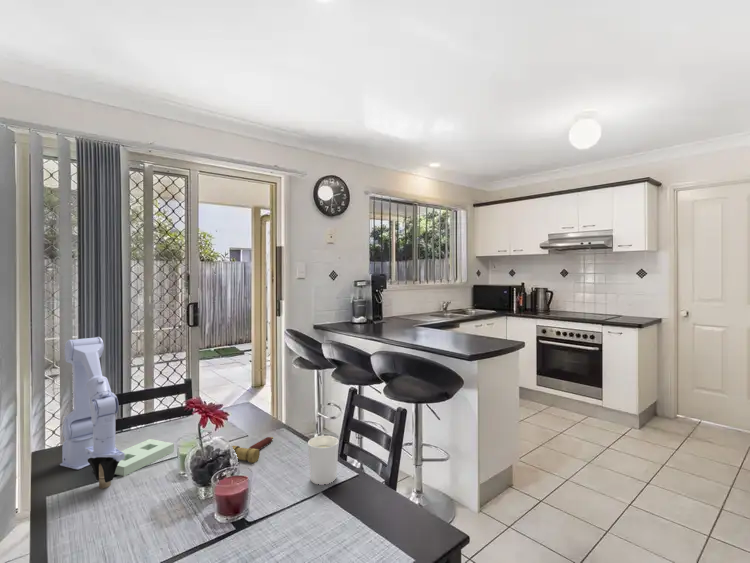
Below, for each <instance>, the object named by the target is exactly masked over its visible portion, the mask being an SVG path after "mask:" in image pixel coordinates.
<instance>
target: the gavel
mask: <svg viewBox="0 0 750 563" xmlns="http://www.w3.org/2000/svg"><path fill="white" fill-rule="evenodd" d="M272 439H273V440H274V437H273V436H267V437H264V438H263V439H262V440H260V441H258V442H256V443H254V444H252V445H250V446H249V448H245V447H241V446H239V445H232V446H231V447H233V449H234V450H235V452H236V454H237V457H238V459H239V460H238V459H237V460H238V461H244V462H248V463H252V464H255V463H256V462H258V461H259V459H260V455H261V453H260V450H261V449H263V448H265V447H266V446H268V445H269V444H270V442H272V441H273V440H272ZM267 444H268V445H267ZM264 446H265V447H264Z"/></svg>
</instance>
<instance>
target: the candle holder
mask: <svg viewBox="0 0 750 563" xmlns="http://www.w3.org/2000/svg"><path fill="white" fill-rule="evenodd" d="M339 444H340V442H339V439H338V438H337V437H335V436H332V435H318V436H315V437H312V438H310V439H309V440H308V441H307V448H308V462H309V464H308V466H309V478H310V482H311V483H313V484H315V485H318V484H319V485H320V486H324V484H326V485H330V484H332V483H334V482H335V481H336V480H337V475H338V474H337V473H338V461H339V459H338V457H339V456H338V455H339ZM335 479H336V480H335ZM334 480H335V481H334ZM333 481H334V482H333ZM331 482H332V483H331ZM329 483H330V484H329ZM319 485H318V486H319Z"/></svg>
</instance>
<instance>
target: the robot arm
mask: <svg viewBox="0 0 750 563" xmlns="http://www.w3.org/2000/svg"><path fill="white" fill-rule="evenodd" d="M104 350H105V349H104V341H103V339H102V337H100V336H95V337H89V338H87V337H86V338H77V339H67V340H66V342H65V345H64V360H65V363H69V364H71V366H72V395H73V396H72V398H73V404H72V406H73V409H72V411H70V412H69V413H68V414H67V415H65V416H64V418H63V424H62V436H63V439H64V441H63V444H62V448H61V450H62V451H61V452H62V455H61V456H62V462H61V463H59V465H60V466H61V467H64V468H65V467H66V468H69V469H73V470H78V471H79V470H81V469H83V468H86V467H88V466H91V468H92V471H93V473H94V476H95V479H96V481H99V464H101V466H102V468H103V471H104V479H105V482H106V483H107V482H109V481H111V482H112V481H113V480H114V478H115V475H116V474H115V470H116V468H117V465H118V463H119V462H120V461H121V460H123V459H125V453H124V452H121V451H122V450H120V449H118V448H117V447H116V446H117V445H116V414H118V412H119V409H120V408H119V400H118V396H117V395H116V394H115V393H114V392H112V388H111V385H110V383H109V379H108V377H106V376H104V375H103V372H102V368H101V367H102V366H101V361H100V358H101V357H102V354H103V352H104Z"/></svg>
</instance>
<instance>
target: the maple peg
mask: <svg viewBox="0 0 750 563" xmlns="http://www.w3.org/2000/svg"><path fill="white" fill-rule="evenodd" d="M111 485H112V480H111V481H109V482H107V483H106V482H105V479H104V471H103V468H102V466H101V464H99V480H98V487H99V489H102V490H103V489H108V488H110V487H111Z"/></svg>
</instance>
